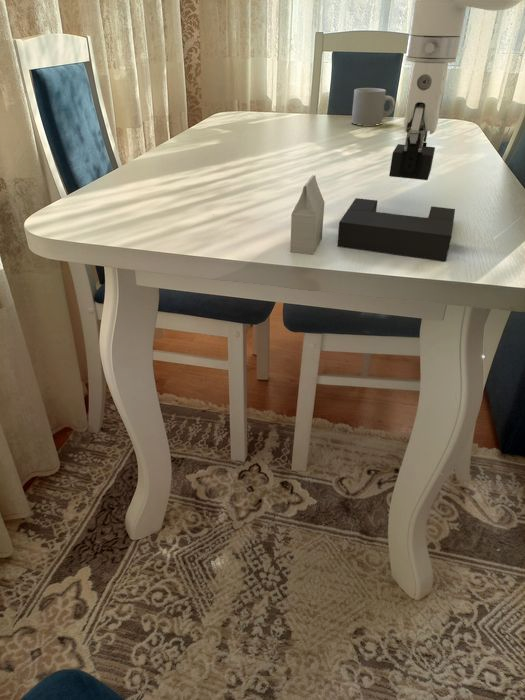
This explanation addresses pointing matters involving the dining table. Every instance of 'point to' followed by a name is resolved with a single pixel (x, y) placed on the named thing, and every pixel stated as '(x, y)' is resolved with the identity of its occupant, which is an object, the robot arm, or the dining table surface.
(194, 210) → the dining table surface
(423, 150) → the small pad
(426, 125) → the robot arm
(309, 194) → the grey milk carton
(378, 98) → the coffee mug
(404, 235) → the big black notched block
